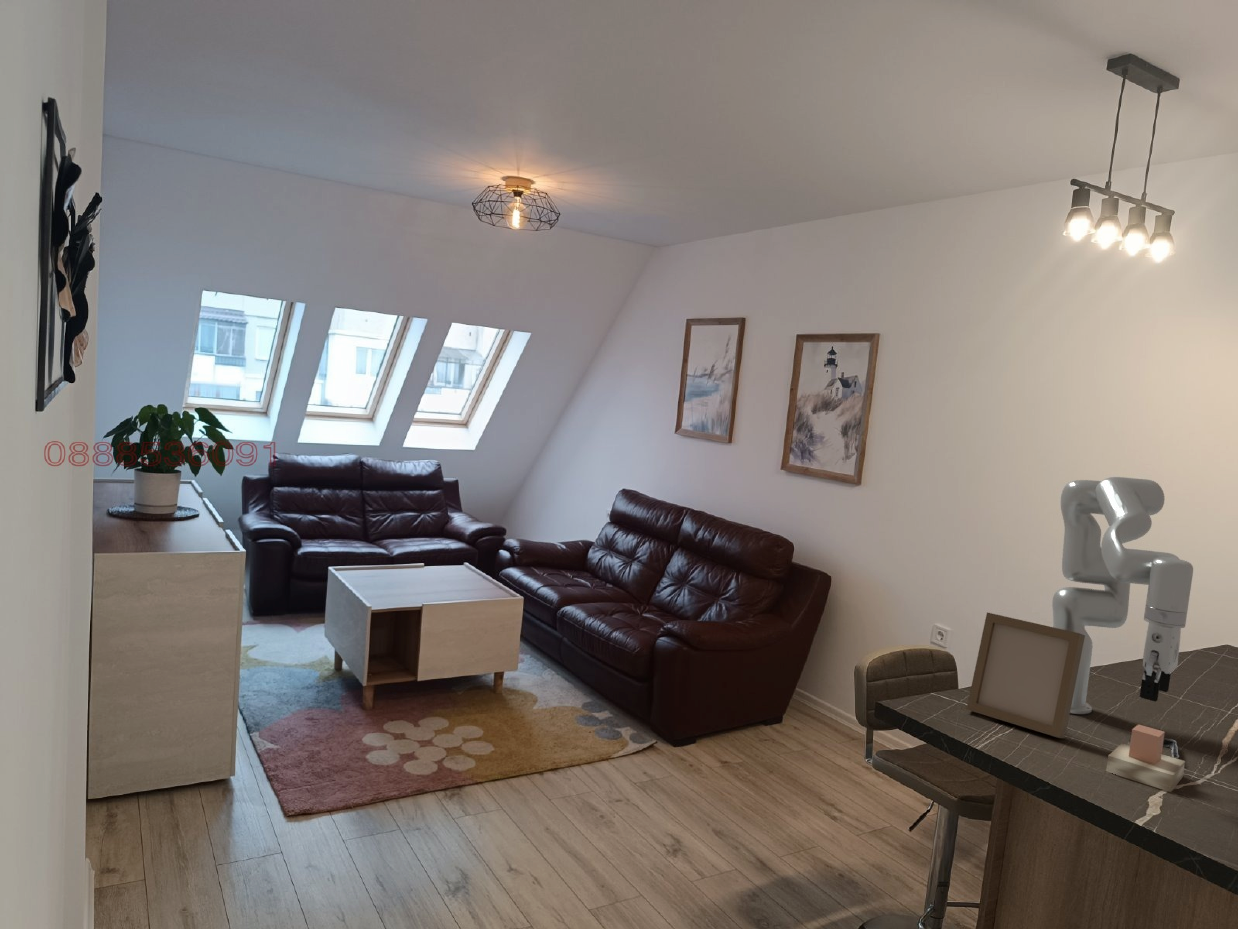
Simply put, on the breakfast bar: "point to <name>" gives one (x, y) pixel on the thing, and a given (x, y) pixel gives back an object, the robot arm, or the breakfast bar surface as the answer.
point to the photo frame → (1026, 674)
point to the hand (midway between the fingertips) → (1153, 694)
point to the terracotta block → (1146, 744)
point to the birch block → (1146, 769)
